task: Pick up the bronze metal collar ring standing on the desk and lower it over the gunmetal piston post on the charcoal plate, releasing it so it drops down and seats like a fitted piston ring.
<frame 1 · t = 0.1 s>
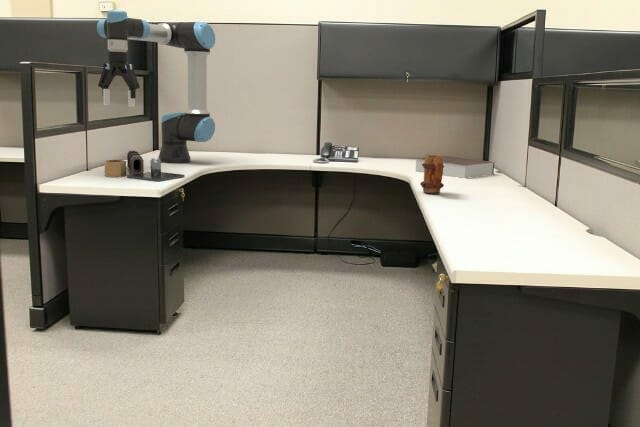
hand: (119, 106, 260), 28 cm above the table, fingers open, 13 cm apart
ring: (115, 175, 263), on the table
book: (453, 174, 308), on the table
mug: (432, 194, 246), on the table
tube: (134, 171, 280), on the table
piston: (156, 177, 263), on the table
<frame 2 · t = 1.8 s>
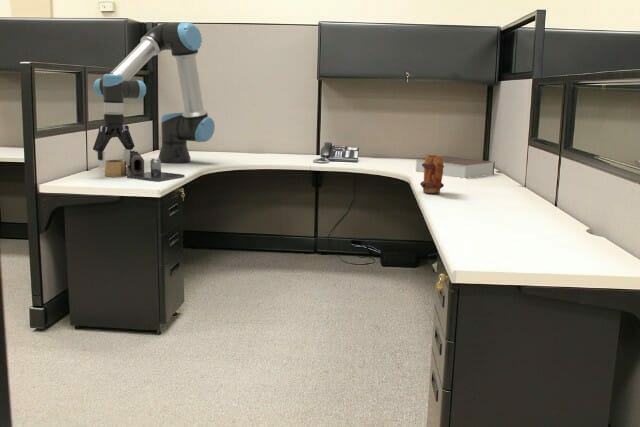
hand: (114, 166, 262), 4 cm above the table, fingers open, 13 cm apart
nothing on the table moved.
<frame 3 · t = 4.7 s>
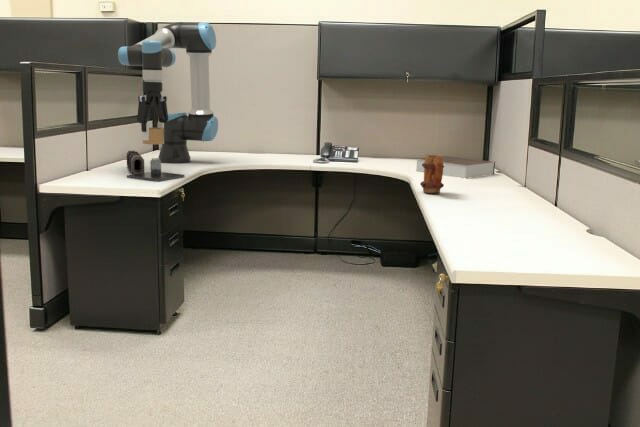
hand: (153, 139, 260), 15 cm above the table, fingers closed on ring, 8 cm apart
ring: (153, 143, 260), point 14 cm above the table, touching gripper
everything else where it was.
when the fingers open (5 cm above the table, at t = 6.8 s): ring drops 3 cm, resting on piston.
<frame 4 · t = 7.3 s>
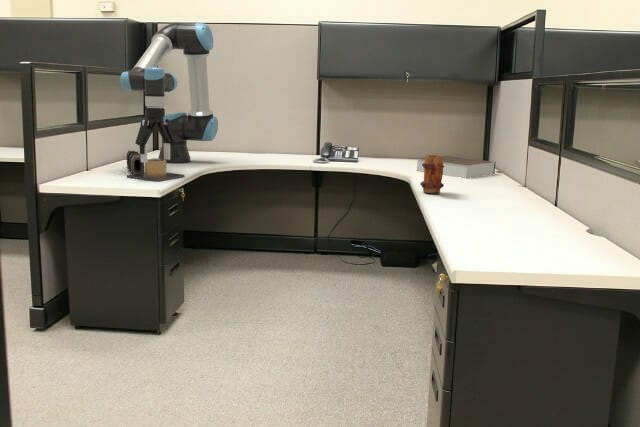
hand: (155, 160, 261), 7 cm above the table, fingers open, 13 cm apart
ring: (155, 175, 262), point 1 cm above the table, touching piston
everything else where it was.
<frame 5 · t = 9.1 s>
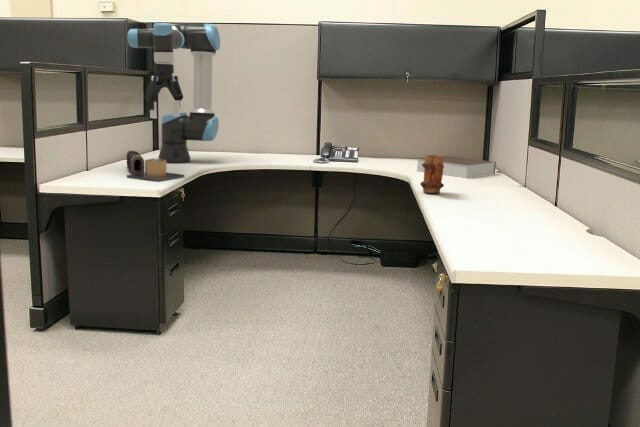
hand: (165, 117, 264), 24 cm above the table, fingers open, 13 cm apart
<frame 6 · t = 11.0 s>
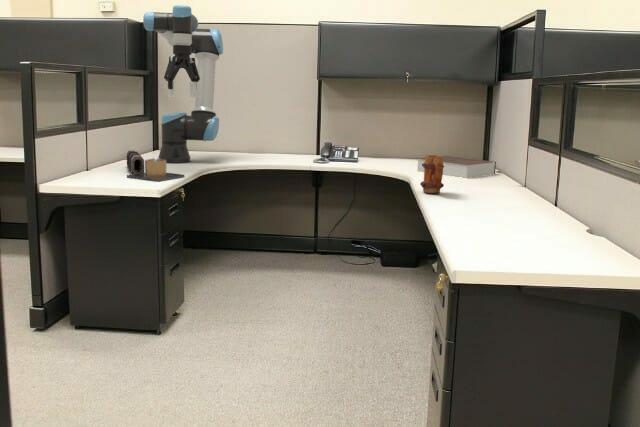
hand: (182, 97, 271), 32 cm above the table, fingers open, 13 cm apart
at the end: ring 0.0 cm off-centre on the piston, point 1.0 cm above the piston's base; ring tilted 0°; the gripper is holding nothing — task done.
